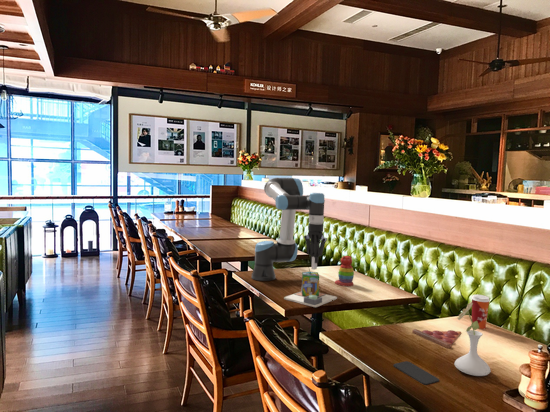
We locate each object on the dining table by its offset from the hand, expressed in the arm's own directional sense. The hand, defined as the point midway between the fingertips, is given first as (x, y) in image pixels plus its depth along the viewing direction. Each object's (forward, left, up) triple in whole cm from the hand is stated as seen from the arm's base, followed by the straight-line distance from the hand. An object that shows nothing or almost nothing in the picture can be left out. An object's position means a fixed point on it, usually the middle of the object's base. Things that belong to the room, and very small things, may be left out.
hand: (314, 269), depth 214 cm
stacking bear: (-8, +48, -19) cm, 52 cm away
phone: (+68, -39, -19) cm, 81 cm away
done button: (0, 0, -17) cm, 17 cm away
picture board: (-6, +7, -18) cm, 20 cm away
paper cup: (+73, +26, -19) cm, 80 cm away
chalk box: (-9, +11, -18) cm, 22 cm away
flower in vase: (+82, -25, -19) cm, 88 cm away
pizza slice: (+65, +3, -19) cm, 68 cm away
